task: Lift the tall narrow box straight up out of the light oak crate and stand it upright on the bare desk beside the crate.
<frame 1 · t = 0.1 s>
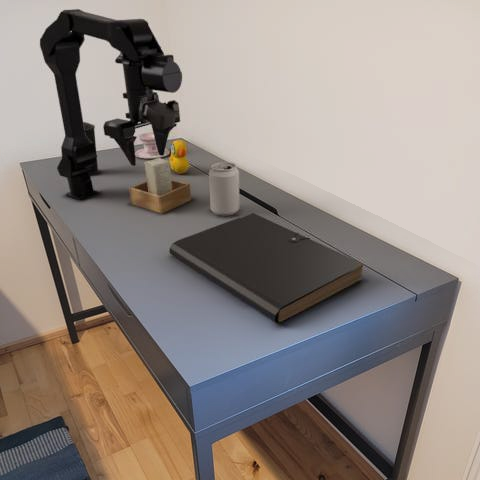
hand: (147, 160, 113), 15 cm above the table, tool pointing down, fingers open, 9 cm apart
black book: (262, 269, 100), on the table
duckling: (180, 173, 150), on the table
crate: (161, 202, 130), on the table
can: (225, 211, 125), on the table
box: (161, 202, 130), resting in crate
teacup: (152, 154, 166), on the table
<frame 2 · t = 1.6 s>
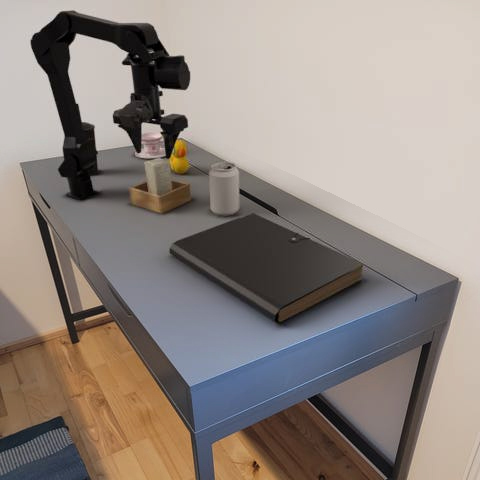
hand: (153, 155, 120), 13 cm above the table, tool pointing down, fingers open, 9 cm apart
nothing on the table moved.
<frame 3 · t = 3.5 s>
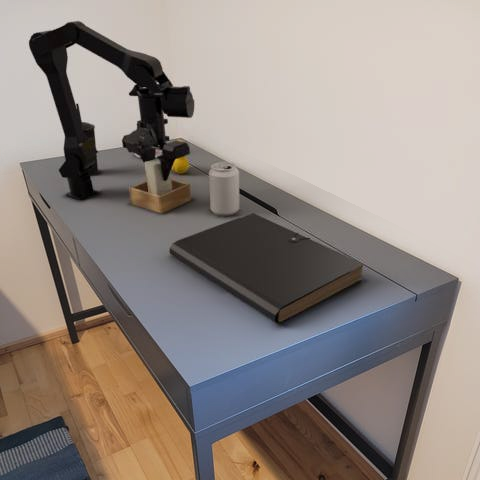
hand: (158, 178, 127), 7 cm above the table, tool pointing down, fingers closed on box, 4 cm apart
box: (161, 202, 130), resting in crate, touching gripper
everything else where it was.
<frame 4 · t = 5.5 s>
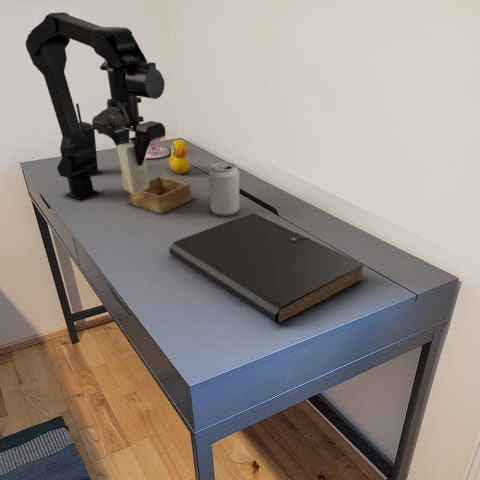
hand: (133, 163, 117), 13 cm above the table, tool pointing down, fingers closed on box, 4 cm apart
box: (136, 190, 121), point 6 cm above the table, touching gripper
everything else where it was.
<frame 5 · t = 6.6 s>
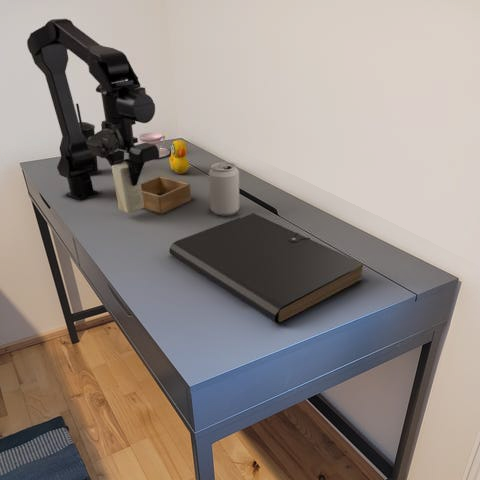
hand: (127, 183, 117), 9 cm above the table, tool pointing down, fingers closed on box, 4 cm apart
box: (131, 209, 121), point 2 cm above the table, touching gripper
everything else where it was.
when the fingers open (7 cm above the table, at t = 7.6 s): box stays where it is, on the table.
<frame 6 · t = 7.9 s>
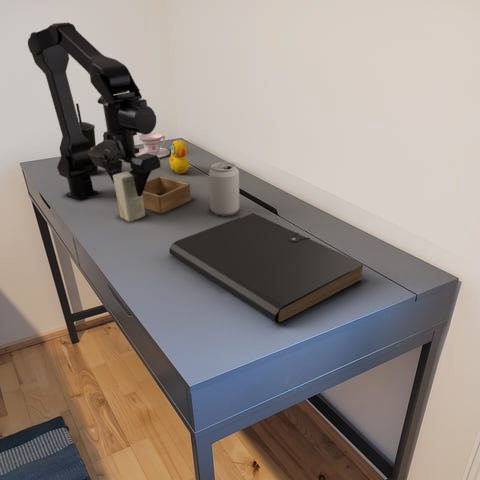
hand: (129, 192, 119), 6 cm above the table, tool pointing down, fingers open, 7 cm apart
box: (132, 217, 123), on the table
everything else where it was.
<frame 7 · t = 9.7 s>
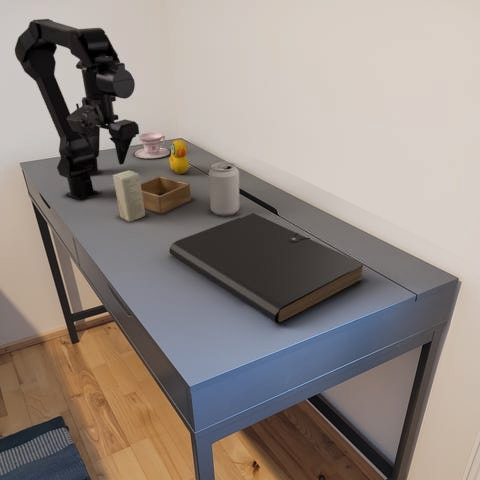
hand: (108, 160, 119), 13 cm above the table, tool pointing down, fingers open, 9 cm apart
nothing on the table moved.
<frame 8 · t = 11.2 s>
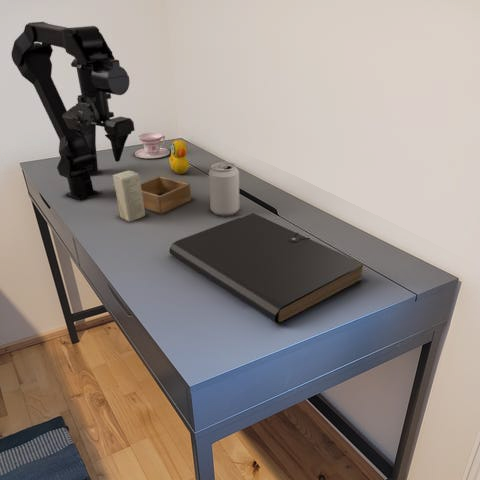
hand: (105, 157, 120), 13 cm above the table, tool pointing down, fingers open, 9 cm apart
nothing on the table moved.
at the end: box inside the target area (0.1 cm from its centre), on the table; box tilted 0°; box touching table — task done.
